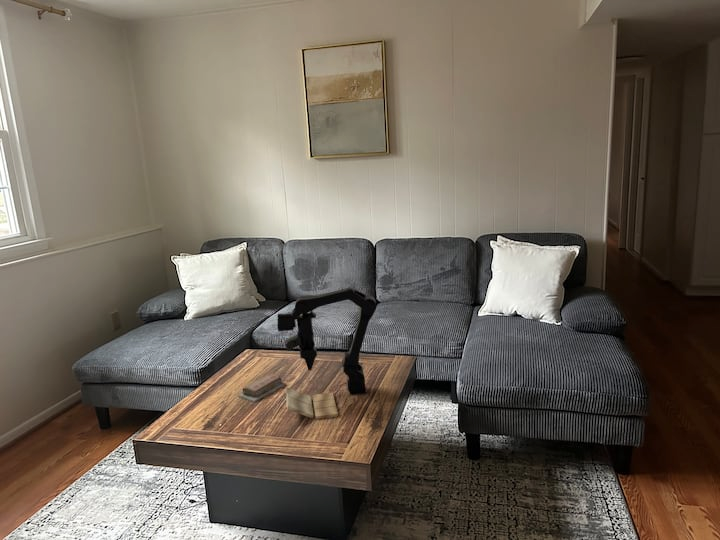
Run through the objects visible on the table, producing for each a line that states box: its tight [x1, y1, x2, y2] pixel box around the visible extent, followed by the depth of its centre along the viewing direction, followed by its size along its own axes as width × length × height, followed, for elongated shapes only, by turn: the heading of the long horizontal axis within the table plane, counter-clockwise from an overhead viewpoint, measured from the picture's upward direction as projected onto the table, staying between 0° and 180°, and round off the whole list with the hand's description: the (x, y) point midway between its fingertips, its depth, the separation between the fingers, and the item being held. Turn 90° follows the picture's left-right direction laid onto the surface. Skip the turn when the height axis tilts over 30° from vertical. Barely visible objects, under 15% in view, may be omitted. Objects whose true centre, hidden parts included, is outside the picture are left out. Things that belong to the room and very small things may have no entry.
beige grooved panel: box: [285, 387, 315, 419], centre depth 197 cm, size 10×16×1 cm, turn 9°
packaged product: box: [237, 372, 286, 403], centre depth 217 cm, size 18×5×10 cm
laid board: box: [311, 392, 339, 420], centre depth 199 cm, size 8×18×1 cm, turn 9°
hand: (309, 366), depth 208 cm, fingers open, 7 cm apart
